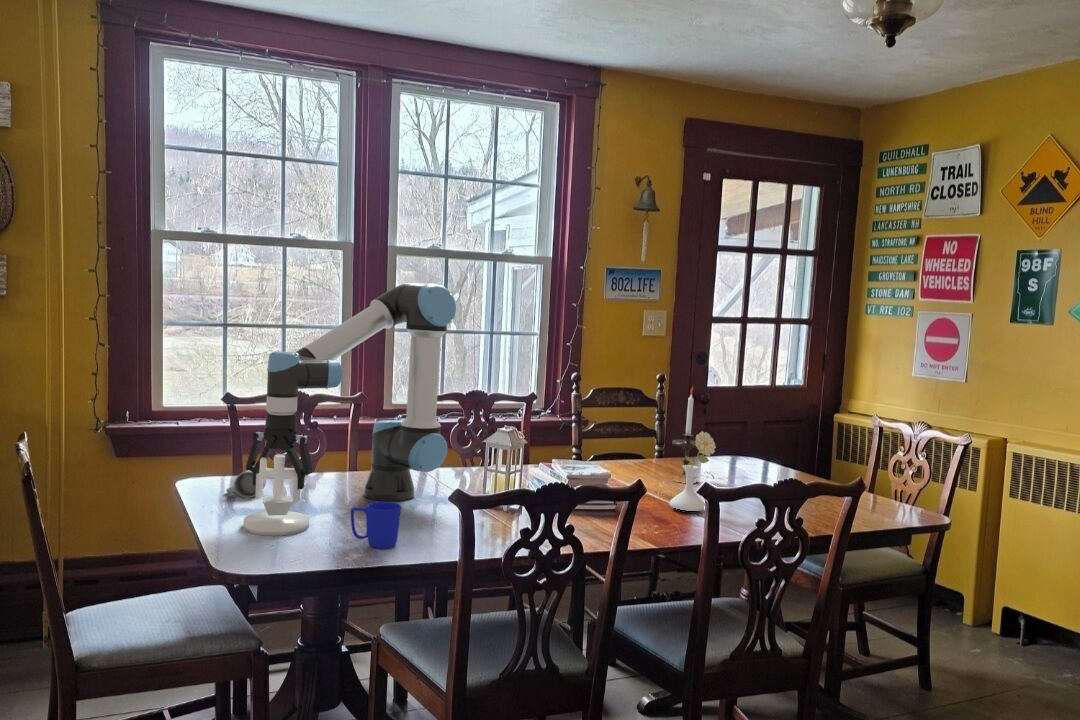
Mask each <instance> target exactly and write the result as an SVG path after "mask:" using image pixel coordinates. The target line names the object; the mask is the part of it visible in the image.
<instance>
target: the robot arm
mask: <svg viewBox="0 0 1080 720" xmlns="http://www.w3.org/2000/svg"><path fill="white" fill-rule="evenodd" d="M456 312H457V305H456V300H455V297H454V296H453V293H451V291H450V290H449V289H448V288H446V287H445V286H443V285H440V284H436V283H414V282H407V283H402V284H400V285H397V286H395V287H393V288H392V289H389V290H387V291H386V292H384V293H382V294H381V295H379V296H377V297H376V298H374V299H373V300H371V302H370V304H369V306H368V307H366V308H365V309H363V310H361V311H360V312H358V313H356V314H355V315H354V316H352V317H350V318H349V319H347V320H346V321H344V322H342V323H340V324H339V325H337V326H336V327H334V328H333V329H331V330H330V331H328V332H327V333H325V334H323V335H321V336H319V337H318V338H316V339H315V340H313V341H311V342H310V343H308V344H307V345H305V346H303V347H302V348H300V349H298V350H296V351H272V352H271V353H269V355H268V361H267V369H266V370H267V371H266V372H267V382H266V385H267V386H266V403H265V404H266V405H265V411H266V412H267V413H266V414H265V426H264V427H265V429H264V432H261V431H255V432H253V434H252V444H251V448H250V451H249V454H248V458H247V461H246V464H245V471H247V470H250V471H252V473H253V485H256V494H255V496H254V497H255V500H261V498H262V499H263V496H264V494H263V493H264V488H263V479H261V478H260V473H259V471H260V459H261V458H262V457H264V458H266V460H268V458H269V456H270V455H271V454H272V451H273V450H280V451H285V453H286V454H287V455H288V457H289V460H290V461H291V464H292V468H294V469H295V471H296V473H297V476H296V477H294V489H293V495H292V499H293V504H294V503H295V504H296V503H299V501H300V502H301V490H303V489H304V488H305V480H306V479H305V478H306V476H309V475H310V474H311V475H312V473H313V467H312V461H311V458H310V457H311V456H310V452H309V447H308V446H309V445H308V441H309V436H308V435H306V434H305V435H299V434H298V432H297V422H298V420H297V418H298V415H297V414H296V412H297V411H298V397H299V394H298V393H299V390H304V389H326V390H327V389H333V388H337V387H338V386H340V384H341V383H342V380H343V373H344V372H343V367H342V365H341V363H340V362H339V361H338V360H337V359H339V358H340V357H341V356H343V355H344V354H346V353H347V352H349V351H350V350H352V349H354V348H355V347H356V346H358V345H360V344H361V343H363V342H365V341H367V340H368V339H369V338H370V337H373V336H374V335H375V334H377V333H379V332H380V331H382V330H383V329H388V330H389V329H392V328H393V327H394V326H397V325H399V324H404V323H406V324H405V325H406V326H405V327H406V328H405V331H407V332H408V334H409V335H410V348H409V366H408V382H407V383H408V384H407V398H406V400H407V401H406V417H405V419H393V420H381V421H380V420H379V421H376V422H375V423H374V424H373V430H372V434H371V435H372V441H371V443H372V446H371V447H372V448H371V467H370V468H371V469H370V471H369V475H368V477H367V480H366V482H365V486H364V489H363V496H364V497H366V498H367V499H371V500H375V501H381V502H399V501H407V500H411V499H413V498H414V497H415V493H416V492H415V485H414V483H413V477H412V474H411V470H413V471H415V472H422V473H430V472H433V471H436V469H439V466H440V465H442V464H443V462H445V459H446V457H447V453H448V443H447V440H446V439H445V437H444V436H443V435H441V432H442V431H441V427H442V425H441V424H440V422H439V421H438V420H437V412H438V411H437V410H438V409H437V408H438V407H437V406H438V394H439V393H438V391H439V389H438V388H439V376H440V375H439V372H440V360H441V359H440V357H441V345H442V344H441V343H442V342H441V341H442V337H443V336H444V335H445V334H446V333H447V328H448V325H449V324H451V322H452V320H453V319H454V318H455V316H456ZM264 439H265V440H266V442H267V443H266V444H265V447H264V448H263V451H262V453H261V455H260V457H259V458H258V455H259V451H260V447H261V445H262V441H263V440H264ZM296 441H297V444H298V445H299V448H298V449H299V451H300V452H299V453H300V457H301V459H300V458H299V455H298V452H297V451H296V450H297V449H296V447H295V444H294V443H295V442H296ZM257 458H258V460H257ZM412 497H413V498H412ZM410 498H411V499H410ZM406 499H407V500H406Z"/></svg>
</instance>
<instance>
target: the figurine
mask: <svg viewBox="0 0 1080 720" xmlns="http://www.w3.org/2000/svg"><path fill="white" fill-rule="evenodd" d="M267 460H268V459H267ZM267 460H266V458H264V457H262V458H261V459H260V471H259V473H260V478H261V479H266V480H273V484H272V485H273V487H272V495H263V497H262V503H263V506H264V509H265V512H266V511H267V513H268V516H270V515H287V513H288V511H290V509H291V507H292V506H293V504H294V503H293V495H292V494H290V495H288V494H287V495H284V480H290V489H292V490H294V477H296V476H297V473H296V471H295V469H294V467H291V468H290V467H285V463H286V455H283V454H279V453H278V454H275V455H273V464H274V465H273V468H272V467H271V468H269V467H268V466H267Z"/></svg>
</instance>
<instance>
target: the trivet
mask: <svg viewBox="0 0 1080 720" xmlns="http://www.w3.org/2000/svg"><path fill="white" fill-rule="evenodd" d="M309 527H310V517H309V516H308V515H306V514H304V513H301V512H298V511H297V512H296V511H290V510H289V511H288V513H287V515H270V516H268V513H267V511H266V510H265V511H260V512H256V513H255V512H254V513H251V514H249V515H246V516H245V517H244V518H243V525H242V528H243V530H244V531H245V532H247V533H250V534H254V535H259V536H265V537H267V536H271V537H272V536H273V537H276V536H277V537H278V536H290V535H295V534H300V533H302V532H305V531H307V530H308V529H309Z"/></svg>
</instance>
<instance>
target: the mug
mask: <svg viewBox="0 0 1080 720" xmlns="http://www.w3.org/2000/svg"><path fill="white" fill-rule="evenodd" d="M356 511H361V512H364V513H365V519H366V522H365V523H366V532H365V533H366V534H365V535H360V534H358V533H357V530H356V527H355V515H354V514H355V512H356ZM401 513H402V505H401V504H399V503H397V502H394V501H374V502H370V503H368V504H367V506H366V507H365V506H363V507H361V506H360V507H358V506H357V507H354V506H353V507H351V508H350V524H351V531H352V534H353V536H354V537H355V538H356V539H358V540H362V539H366V538H367V542H368V545H369V546H370V547H372V548H374V549H379V550H381V549H382V550H384V549H385V550H386V549H391V548H393V547H395V546H396V545H397V542H398V536H399V535H398V534H399V527H400V522H401Z"/></svg>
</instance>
